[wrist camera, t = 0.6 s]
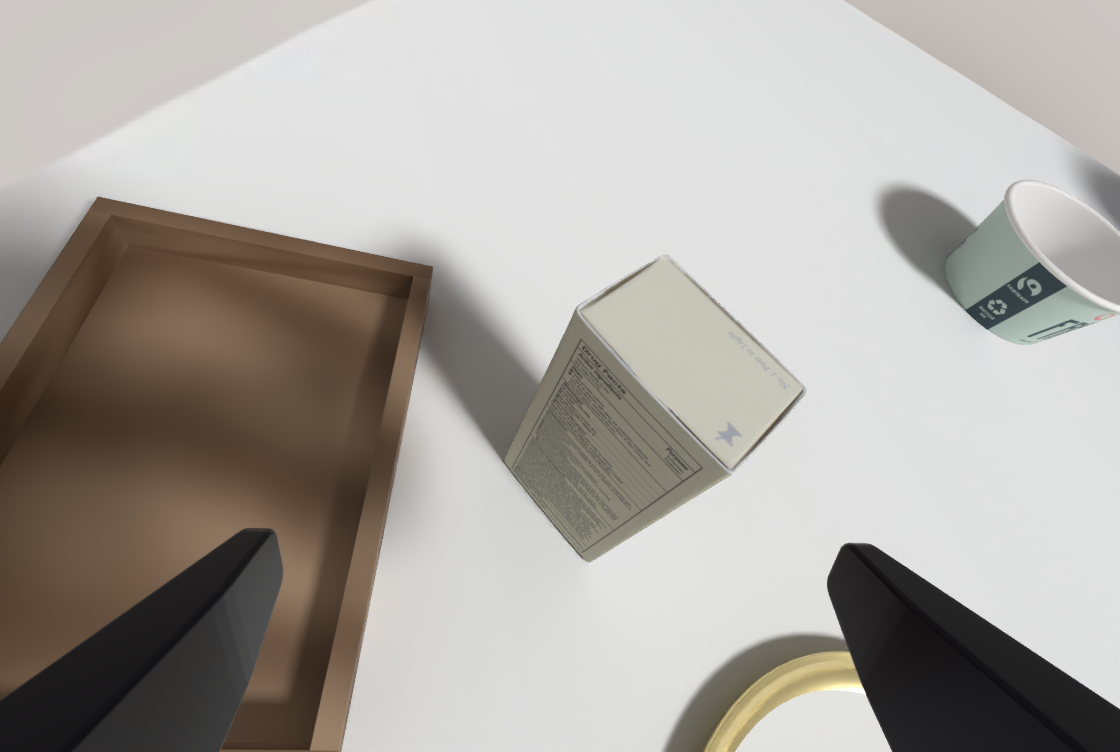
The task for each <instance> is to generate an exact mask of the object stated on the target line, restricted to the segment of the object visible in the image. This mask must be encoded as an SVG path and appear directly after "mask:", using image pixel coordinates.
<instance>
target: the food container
mask: <svg viewBox="0 0 1120 752" xmlns="http://www.w3.org/2000/svg"><path fill="white" fill-rule="evenodd" d="M945 274H946V278H947V281H948V284H949V286H950V288H951V290H952V292H953V294H954V295H955V297H956V298H957V300H958V301H959V303H960V304H961V305H962V307H963V308H964V309H965V310H966V311H967V312H968V313H969V314H970V315H971V316H972V317H973V318H974V319H975V320H976V321H977V322H978V323H979V324H981V325H982V326H983V327H984V328H986V329H987V330H989V331H990V332H992V333H993V334H995V335H997V336H998V337H1000V338H1002V339H1004V340H1007V341H1009V342H1012V343H1015V344H1020V345H1031V344H1035V343H1038V342H1041V341H1043V340H1046V339H1049V338H1052V337H1055V336H1058V335H1061V334H1064V333H1067V332H1070V331H1073V330H1076V329H1079V328H1082V327H1084V326H1087V325H1090V324H1093V323H1096V322H1099V321H1102V320H1105V319H1108V318H1111V317H1114V316H1117V315H1120V232H1119V231H1118V230H1117V229H1116V228H1115V227H1114V226H1113V225H1112V224H1111V223H1109V222H1108V221H1107V220H1106V219H1105V218H1104V217H1102V216H1101V215H1100V214H1099V213H1097V212H1096V211H1095V210H1094V209H1092V208H1091V207H1089V206H1088V205H1087V204H1085V203H1084V202H1082V201H1081V200H1079V199H1077V198H1076V197H1074V196H1072V195H1071V194H1069V193H1067V192H1065V191H1063V190H1061V189H1059V188H1057V187H1054V186H1052V185H1049V184H1046V183H1043V182H1038V181H1032V180H1023V181H1018V182H1015V183H1013V184H1012V185H1011V186H1009V187H1008V189H1007V190H1006V193H1005V197H1004V200H1003V201H1002V202H1001V203H1000V204H999V205H998V206H997V207H996V208H995V209H994V210H993V212H992V213H991V214H990V215H989V216H988V217H987V218H986V219H985V220H984V221H983V222H982V223H981V224H980V225H979V226H978V227H977V228H976V229H975V230H974V231H973V232H972V233H971V234H970V235H969V236H968V237H967V238H966V239H965V240H964V242H963V243H962V244H961V245H960V246H959V247H958V248H957V249H956V250H955V251H954V252H953V253H952V254H951V255H950V256H949V257H948V259H947V261H946V264H945Z"/></svg>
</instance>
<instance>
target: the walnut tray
mask: <svg viewBox="0 0 1120 752" xmlns="http://www.w3.org/2000/svg"><path fill="white" fill-rule="evenodd" d="M432 272H433V267H432V266H427V265H422V264H417V263H412V262H408V261H403V260H398V259H393V258H389V257H384V256H379V255H374V254H369V253H365V252H360V251H355V250H350V249H346V248H341V247H336V246H331V245H326V244H322V243H317V242H312V241H307V240H302V239H298V238H293V237H288V236H283V235H279V234H274V233H269V232H264V231H259V230H255V229H250V228H245V227H240V226H236V225H231V224H226V223H221V222H216V221H212V220H207V219H202V218H197V217H192V216H188V215H183V214H178V213H173V212H169V211H164V210H159V209H154V208H149V207H145V206H140V205H135V204H130V203H126V202H121V201H116V200H111V199H106V198H102V197H97V199H96V200H95V202H94V203H93V205H92V206H91V208H90V209H89V211H88V212H87V214H86V215H85V217H84V218H83V220H82V221H81V223H80V224H79V226H78V227H77V229H76V230H75V232H74V233H73V235H72V236H71V238H70V240H69V241H68V243H67V244H66V246H65V247H64V249H63V250H62V252H61V253H60V255H59V256H58V258H57V259H56V261H55V262H54V264H53V265H52V267H51V268H50V270H49V271H48V273H47V274H46V276H45V277H44V279H43V280H42V282H41V283H40V285H39V286H38V288H37V289H36V291H35V293H34V294H33V296H32V297H31V299H30V300H29V302H28V303H27V305H26V306H25V308H24V309H23V311H22V312H21V314H20V315H19V317H18V318H17V320H16V321H15V323H14V324H13V326H12V327H11V329H10V330H9V332H8V333H7V335H6V336H5V338H4V339H3V341H2V342H1V344H0V699H2V698H3V697H5V696H6V695H8V694H9V693H10V692H12V691H13V690H15V689H16V688H18V687H19V686H20V685H22V684H23V683H25V682H26V681H27V680H29V679H30V678H32V677H33V676H35V675H36V674H37V673H39V672H40V671H42V670H43V669H45V668H46V667H47V666H49V665H50V664H52V663H53V662H54V661H56V660H57V659H59V658H60V657H62V656H63V655H64V654H66V653H67V652H69V651H70V650H71V649H73V648H74V647H76V646H77V645H79V644H80V643H81V642H83V641H84V640H86V639H87V638H89V637H90V636H91V635H93V634H94V633H96V632H97V631H98V630H100V629H101V628H103V627H104V626H106V625H107V624H108V623H110V622H111V621H113V620H114V619H116V618H117V617H118V616H120V615H121V614H123V613H124V612H125V611H127V610H128V609H130V608H131V607H133V606H134V605H135V604H137V603H138V602H140V601H141V600H142V599H144V598H145V597H147V596H148V595H150V594H151V593H152V592H154V591H155V590H157V589H158V588H160V587H161V586H162V585H164V584H165V583H167V582H168V581H169V580H171V579H172V578H174V577H175V576H177V575H178V574H179V573H181V572H182V571H184V570H185V569H186V568H188V567H189V566H191V565H192V564H194V563H195V562H196V561H198V560H199V559H201V558H202V557H204V556H205V555H206V554H208V553H209V552H211V551H212V550H213V549H215V548H216V547H218V546H219V545H221V544H222V543H223V542H225V541H226V540H228V539H229V538H231V537H232V536H233V535H235V534H236V533H238V532H239V531H241V530H243V529H245V528H270V529H273V530H274V531H275V532H276V534H277V538H278V543H279V548H280V553H281V558H282V563H283V572H284V573H283V580H282V584H281V588H280V591H279V594H278V597H277V600H276V603H275V606H274V609H273V612H272V615H271V618H270V622H269V625H268V628H267V631H266V634H265V637H264V640H263V643H262V646H261V649H260V652H259V655H258V658H257V662H256V665H255V668H254V671H253V673H252V676H251V679H250V682H249V685H248V687H247V690H246V692H245V695H244V697H243V700H242V702H241V704H240V707H239V709H238V711H237V713H236V716H235V718H234V720H233V722H232V725H231V727H230V729H229V731H228V734H227V736H226V738H225V740H224V743H223V745H222V747H221V749H220V752H341V749H342V744H343V739H344V734H345V729H346V724H347V718H348V713H349V708H350V703H351V698H352V693H353V688H354V682H355V677H356V672H357V667H358V662H359V657H360V651H361V646H362V641H363V636H364V631H365V626H366V621H367V615H368V610H369V605H370V600H371V595H372V590H373V585H374V579H375V574H376V569H377V564H378V559H379V554H380V549H381V543H382V538H383V533H384V528H385V523H386V518H387V512H388V507H389V502H390V497H391V492H392V487H393V482H394V476H395V471H396V466H397V461H398V456H399V451H400V446H401V440H402V435H403V430H404V425H405V420H406V415H407V410H408V404H409V399H410V394H411V389H412V384H413V379H414V374H415V368H416V363H417V358H418V353H419V348H420V343H421V337H422V332H423V327H424V322H425V317H426V312H427V307H428V301H429V296H430V288H431V280H432Z"/></svg>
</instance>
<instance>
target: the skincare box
mask: <svg viewBox="0 0 1120 752" xmlns="http://www.w3.org/2000/svg"><path fill="white" fill-rule="evenodd" d="M805 393H806V388H805V386H804V385H803V384H802V383H801V382H800V381H799V380H798V379H797V378H796V377H795V376H794V375H793V374H792V373H791V372H790V371H789V370H788V369H787V368H786V367H785V366H784V365H783V364H782V363H781V362H780V361H779V360H778V359H777V358H776V357H775V356H774V355H773V354H772V353H771V352H770V351H769V350H768V349H767V348H766V347H765V346H764V345H763V344H762V343H760V342H759V341H758V340H757V339H756V338H755V337H754V336H753V335H752V334H751V333H750V332H749V331H748V330H747V329H746V328H745V327H744V326H743V325H742V324H741V323H740V322H739V321H738V320H736V319H735V318H734V317H733V316H732V315H731V314H730V313H729V312H728V311H727V310H726V309H725V308H724V307H723V306H721V304H720V303H718V301H717V300H715V299H714V298H713V297H712V296H711V295H710V294H709V293H708V292H707V291H706V290H705V289H704V288H703V287H702V286H701V285H699V284H698V283H697V282H696V281H695V280H694V279H693V278H692V277H691V276H690V275H689V274H688V273H687V272H686V271H685V270H684V269H683V268H682V267H680V266H679V265H678V264H677V263H676V262H675V261H674V260H673V259H672V258H671V257H670V256H668V255H663V256H660V257H659V258H657V259H655V260H654V261H652V262H650V263H648V264H646V265H645V266H643V267H641V268H639V269H638V270H636V271H634V272H632V273H631V274H629V275H627V276H626V277H624V278H622V279H621V280H619V281H617V282H616V283H614V284H612V285H610V286H609V287H607V288H605V289H604V290H602V291H600V292H599V293H597V294H596V295H594V296H593V297H591V298H589V299H588V300H586V301H584V302H583V303H581V304H580V305H578V306H577V307H576V309H575V311H574V314H573V316H572V318H571V320H570V322H569V325H568V327H567V329H566V331H565V333H564V335H563V337H562V339H561V341H560V343H559V346H558V348H557V350H556V352H555V354H554V356H553V358H552V360H551V362H550V364H549V367H548V369H547V371H546V373H545V375H544V377H543V379H542V381H541V383H540V385H539V387H538V389H537V391H536V394H535V396H534V398H533V400H532V402H531V404H530V406H529V408H528V410H527V412H526V415H525V417H524V419H523V421H522V423H521V425H520V427H519V429H518V431H517V433H516V435H515V438H514V440H513V442H512V444H511V446H510V448H509V450H508V452H507V454H506V456H505V459H504V461H505V464H506V465H507V466H508V468H509V469H510V470H511V472H512V473H513V474H514V475H515V476H516V478H517V479H518V480H519V482H520V483H521V484H522V485H523V487H524V488H525V489H526V490H527V492H528V493H529V494H530V495H531V497H532V498H533V499H534V500H535V501H536V503H537V504H538V505H539V506H540V508H541V509H542V510H543V511H544V512H545V514H546V515H547V516H548V517H549V518H550V520H551V521H552V522H553V523H554V524H555V526H556V527H557V528H558V529H559V530H560V532H561V533H562V534H563V535H564V537H565V538H566V539H567V540H568V541H569V542H570V543H571V545H572V546H573V547H574V548H575V549H576V550H577V551H578V553H579V554H580V555H581V556H582V557H583V558H584V559H585V560H586V561H587V562H592V561H593V560H595V559H597V558H598V557H600V556H602V555H603V554H605V553H606V552H608V551H610V550H611V549H613V548H614V547H616V546H618V545H619V544H621V543H622V542H624V541H625V540H627V539H629V538H630V537H632V536H634V535H635V534H637V533H639V532H640V531H642V530H643V529H645V528H647V527H648V526H650V525H651V524H653V523H655V522H656V521H658V520H660V519H661V518H663V517H664V516H666V515H667V514H669V513H671V512H672V511H674V510H675V509H677V508H679V507H680V506H682V505H684V504H685V503H687V502H688V501H690V500H692V499H693V498H695V497H696V496H698V495H700V494H701V493H703V492H704V491H706V490H708V489H709V488H711V487H712V486H714V485H716V484H717V483H719V482H721V481H722V480H724V479H725V478H727V477H729V476H730V475H732V474H733V473H734V472H735V471H736V470H737V469H738V468H739V467H740V466H741V465H742V464H743V463H744V462H745V461H746V460H747V459H748V458H749V457H750V456H751V455H752V453H753V452H754V451H755V450H756V449H757V448H758V447H759V446H760V445H761V444H762V443H763V442H764V441H765V440H766V439H767V438H768V437H769V435H770V434H771V433H772V432H773V431H774V430H775V429H776V428H777V427H778V426H779V425H780V424H781V423H782V422H783V420H784V419H785V418H786V417H787V416H788V415H789V414H790V412H791V411H792V410H793V409H794V407H795V406H796V405H797V404H798V403H799V401H800V400H801V399H802V398H803V396H804V395H805Z"/></svg>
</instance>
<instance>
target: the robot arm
mask: <svg viewBox="0 0 1120 752" xmlns="http://www.w3.org/2000/svg"><path fill="white" fill-rule="evenodd" d="M283 573H284V572H283V563H282V558H281V553H280V548H279V543H278V538H277V534H276V532H275V531H274V530H273V529H270V528H245V529H243V530H241V531H239V532H238V533H236V534H235V535H233V536H232V537H231V538H229V539H228V540H226V541H225V542H223V543H222V544H221V545H219V546H218V547H216V548H215V549H213V550H212V551H211V552H209V553H208V554H206V555H205V556H204V557H202V558H201V559H199V560H198V561H196V562H195V563H194V564H192V565H191V566H189V567H188V568H186V569H185V570H184V571H182V572H181V573H179V574H178V575H177V576H175V577H174V578H172V579H171V580H169V581H168V582H167V583H165V584H164V585H162V586H161V587H160V588H158V589H157V590H155V591H154V592H152V593H151V594H150V595H148V596H147V597H145V598H144V599H142V600H141V601H140V602H138V603H137V604H135V605H134V606H133V607H131V608H130V609H128V610H127V611H125V612H124V613H123V614H121V615H120V616H118V617H117V618H116V619H114V620H113V621H111V622H110V623H108V624H107V625H106V626H104V627H103V628H101V629H100V630H98V631H97V632H96V633H94V634H93V635H91V636H90V637H89V638H87V639H86V640H84V641H83V642H81V643H80V644H79V645H77V646H76V647H74V648H73V649H71V650H70V651H69V652H67V653H66V654H64V655H63V656H62V657H60V658H59V659H57V660H56V661H54V662H53V663H52V664H50V665H49V666H47V667H46V668H45V669H43V670H42V671H40V672H39V673H37V674H36V675H35V676H33V677H32V678H30V679H29V680H27V681H26V682H25V683H23V684H22V685H20V686H19V687H18V688H16V689H15V690H13V691H12V692H10V693H9V694H8V695H6V696H5V697H3V698H2V699H0V752H220V749H221V747H222V745H223V743H224V740H225V738H226V736H227V734H228V731H229V729H230V727H231V725H232V722H233V720H234V718H235V716H236V713H237V711H238V709H239V707H240V704H241V702H242V700H243V697H244V695H245V692H246V690H247V687H248V685H249V682H250V679H251V676H252V673H253V671H254V668H255V665H256V662H257V658H258V655H259V652H260V649H261V646H262V643H263V640H264V637H265V634H266V631H267V628H268V625H269V622H270V618H271V615H272V612H273V609H274V606H275V603H276V600H277V597H278V594H279V591H280V588H281V584H282V580H283ZM827 589H828V593H829V596H830V599H831V602H832V605H833V607H834V610H835V613H836V616H837V619H838V621H839V624H840V627H841V630H842V633H843V635H844V638H845V641H846V644H847V647H848V649H849V652H850V655H851V658H852V661H853V663H854V666H855V669H856V672H857V674H858V677H859V679H860V682H861V684H862V687H863V689H864V691H865V694H866V696H867V698H868V700H869V703H870V705H871V707H872V709H873V711H874V713H875V716H876V718H877V720H878V722H879V724H880V726H881V729H882V731H883V733H884V735H885V737H886V739H887V741H888V744H889V746H890V748H891V750H892V752H1120V709H1119V708H1117V707H1116V706H1114V705H1113V704H1111V703H1110V702H1108V701H1107V700H1105V699H1104V698H1102V697H1101V696H1099V695H1098V694H1096V693H1095V692H1093V691H1092V690H1090V689H1089V688H1087V687H1086V686H1084V685H1083V684H1081V683H1080V682H1078V681H1077V680H1075V679H1074V678H1072V677H1071V676H1069V675H1068V674H1066V673H1065V672H1063V671H1062V670H1060V669H1059V668H1057V667H1056V666H1054V665H1053V664H1051V663H1050V662H1048V661H1047V660H1045V659H1044V658H1042V657H1041V656H1039V655H1038V654H1036V653H1035V652H1033V651H1032V650H1030V649H1029V648H1027V647H1026V646H1024V645H1023V644H1021V643H1020V642H1018V641H1017V640H1015V639H1014V638H1012V637H1011V636H1009V635H1008V634H1006V633H1005V632H1003V631H1002V630H1000V629H998V628H997V627H995V626H994V625H992V624H991V623H989V622H988V621H986V620H985V619H983V618H982V617H980V616H979V615H977V614H976V613H974V612H973V611H971V610H970V609H968V608H967V607H965V606H964V605H962V604H961V603H959V602H958V601H956V600H955V599H953V598H952V597H950V596H949V595H947V594H946V593H944V592H943V591H941V590H940V589H938V588H937V587H935V586H934V585H932V584H931V583H929V582H928V581H926V580H925V579H923V578H922V577H920V576H919V575H917V574H916V573H914V572H913V571H911V570H910V569H908V568H907V567H905V566H904V565H902V564H901V563H899V562H898V561H896V560H895V559H893V558H892V557H890V556H889V555H887V554H886V553H884V552H883V551H881V550H880V549H878V548H877V547H875V546H873V545H871V544H867V543H846V544H844V545H843V546H842V547H841V549H840V551H839V553H838V555H837V557H836V560H835V562H834V564H833V566H832V569H831V571H830V573H829V575H828V579H827Z"/></svg>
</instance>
